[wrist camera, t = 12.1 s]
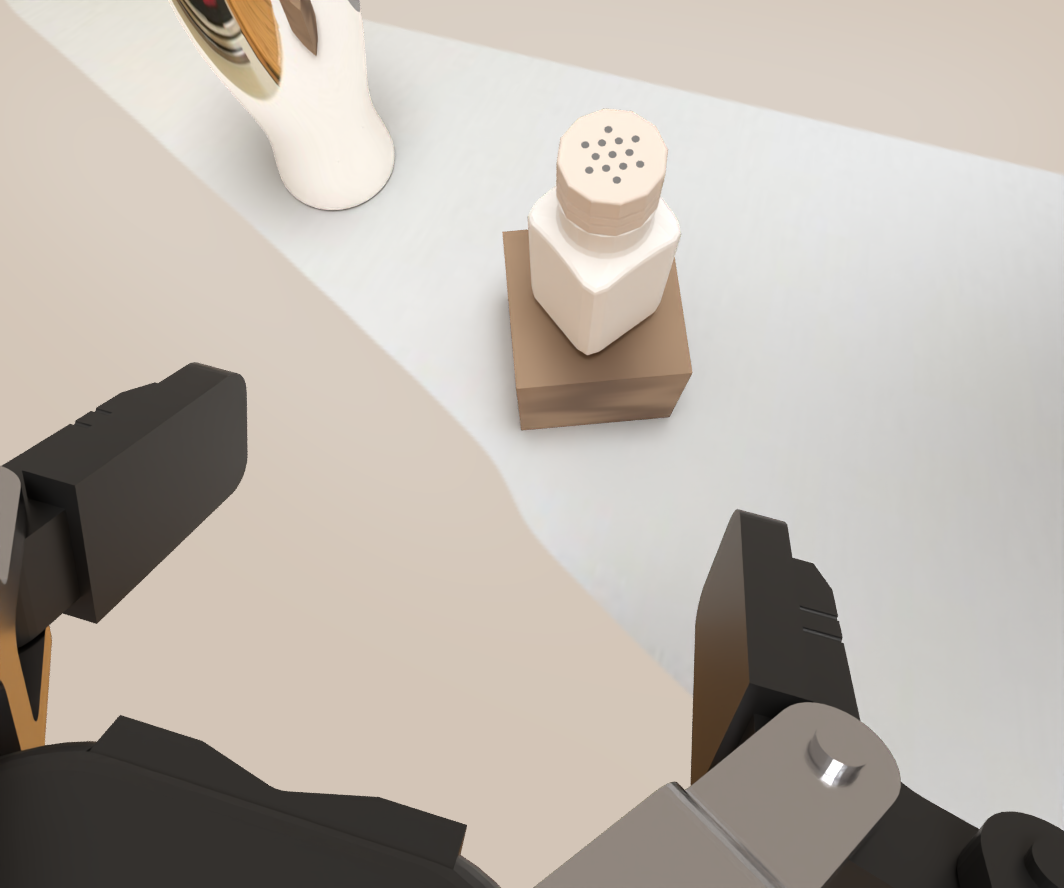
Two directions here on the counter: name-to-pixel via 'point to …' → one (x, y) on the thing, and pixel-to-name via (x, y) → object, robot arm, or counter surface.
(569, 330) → the pepper shaker
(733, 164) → the counter surface
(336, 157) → the beer glass
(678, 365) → the walnut block
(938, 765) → the counter surface
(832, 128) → the counter surface
